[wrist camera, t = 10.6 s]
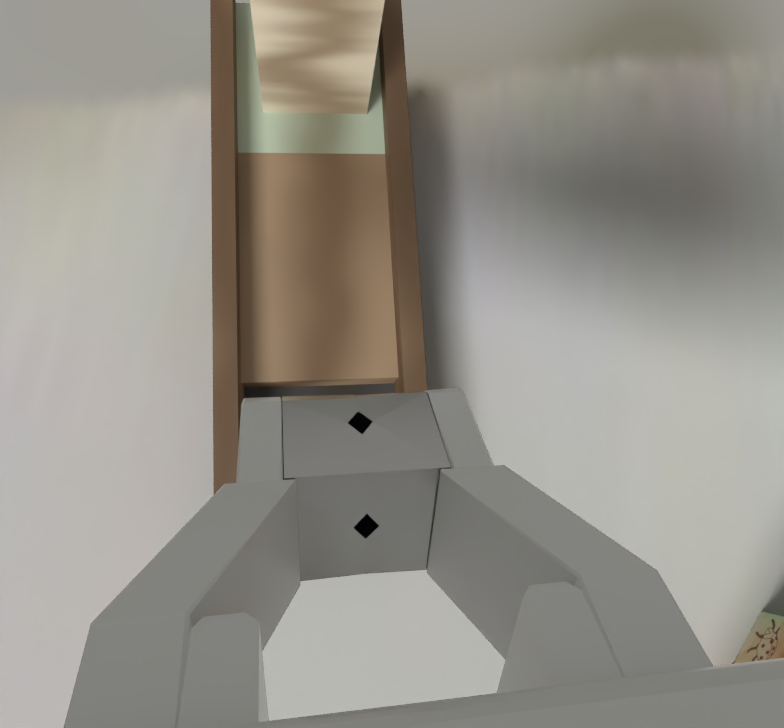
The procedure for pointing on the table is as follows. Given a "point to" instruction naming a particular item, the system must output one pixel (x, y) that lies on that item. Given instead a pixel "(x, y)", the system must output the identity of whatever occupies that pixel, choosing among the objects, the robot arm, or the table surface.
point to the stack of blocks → (764, 639)
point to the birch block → (316, 54)
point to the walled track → (309, 238)
